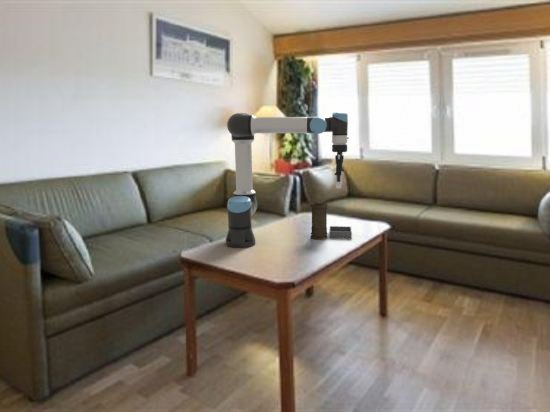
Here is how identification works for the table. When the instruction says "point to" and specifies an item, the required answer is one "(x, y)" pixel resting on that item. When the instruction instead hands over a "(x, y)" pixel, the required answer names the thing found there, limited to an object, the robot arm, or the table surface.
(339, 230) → the tray
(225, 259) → the table surface
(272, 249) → the table surface
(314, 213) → the container
